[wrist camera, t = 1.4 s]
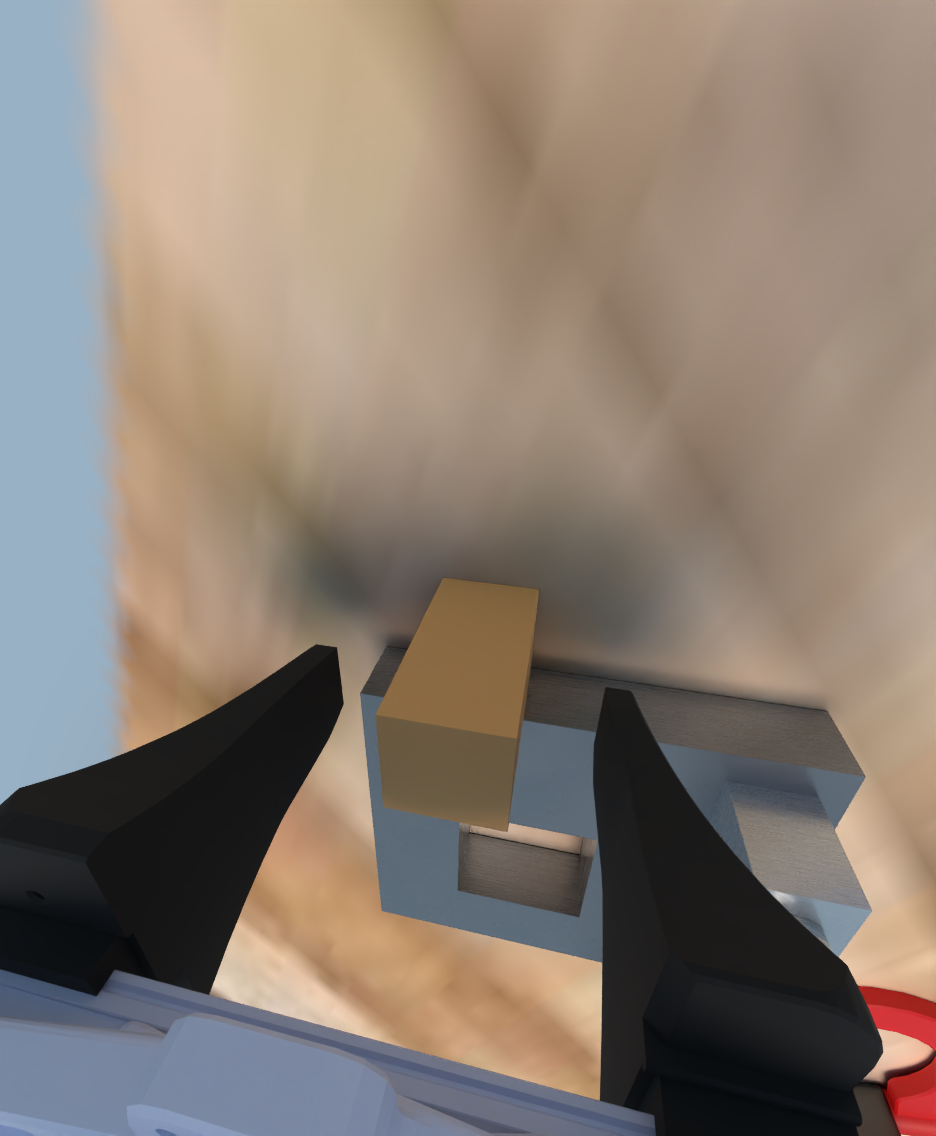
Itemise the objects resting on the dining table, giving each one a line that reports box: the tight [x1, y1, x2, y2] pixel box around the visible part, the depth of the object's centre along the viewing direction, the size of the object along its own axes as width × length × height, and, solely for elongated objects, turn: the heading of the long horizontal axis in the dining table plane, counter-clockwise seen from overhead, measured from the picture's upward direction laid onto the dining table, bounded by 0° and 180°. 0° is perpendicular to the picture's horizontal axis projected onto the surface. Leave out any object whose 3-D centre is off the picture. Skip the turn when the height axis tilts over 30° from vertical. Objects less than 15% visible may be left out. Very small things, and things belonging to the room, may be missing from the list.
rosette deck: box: [360, 646, 872, 962], centre depth 17 cm, size 14×12×6 cm
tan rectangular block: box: [376, 578, 539, 832], centre depth 14 cm, size 3×3×6 cm
